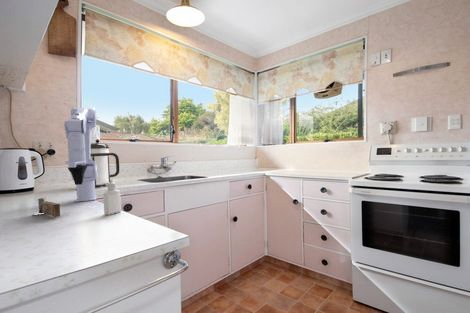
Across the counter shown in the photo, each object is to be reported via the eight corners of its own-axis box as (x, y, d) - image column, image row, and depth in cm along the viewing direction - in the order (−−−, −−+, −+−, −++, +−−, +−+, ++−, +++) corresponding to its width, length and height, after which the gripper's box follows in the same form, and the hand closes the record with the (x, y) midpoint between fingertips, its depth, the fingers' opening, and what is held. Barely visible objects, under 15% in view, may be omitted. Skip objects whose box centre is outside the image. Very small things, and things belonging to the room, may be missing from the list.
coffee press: (106, 187, 147) (104, 138, 146) (80, 188, 147) (78, 139, 146) (120, 183, 164) (118, 139, 163) (97, 184, 165) (95, 140, 164)
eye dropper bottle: (122, 212, 85) (121, 179, 85) (105, 215, 82) (103, 180, 82) (120, 210, 89) (118, 178, 89) (103, 213, 86) (101, 179, 85)
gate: (41, 213, 87) (40, 201, 87) (46, 212, 88) (45, 200, 88) (54, 217, 81) (54, 205, 80) (60, 216, 82) (59, 204, 82)
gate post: (36, 212, 89) (35, 198, 89) (52, 211, 92) (51, 196, 91) (31, 216, 85) (30, 200, 85) (49, 214, 87) (48, 198, 87)
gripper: (70, 150, 100) (72, 182, 101) (57, 150, 87) (60, 188, 87) (90, 149, 103) (91, 181, 103) (80, 150, 89) (82, 186, 90)
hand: (78, 184), depth 96 cm, fingers closed
